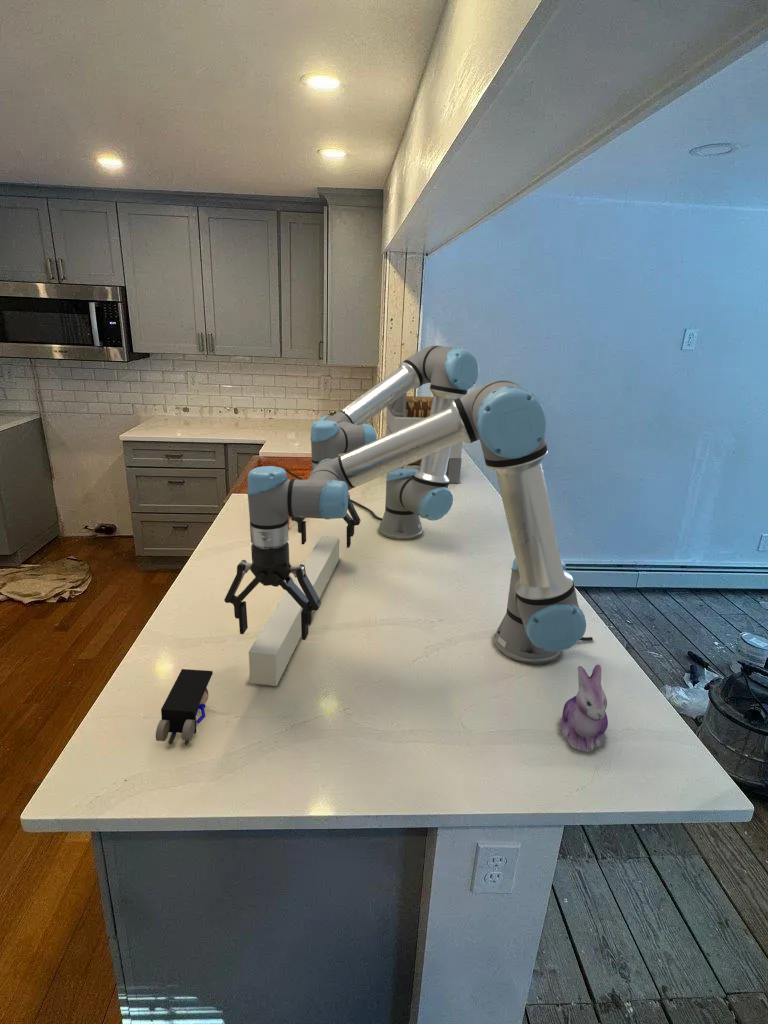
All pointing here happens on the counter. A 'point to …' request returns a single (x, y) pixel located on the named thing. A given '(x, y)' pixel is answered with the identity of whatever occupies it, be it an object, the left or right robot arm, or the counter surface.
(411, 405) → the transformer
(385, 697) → the counter surface
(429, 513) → the left robot arm
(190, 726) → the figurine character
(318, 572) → the bar
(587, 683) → the figurine
